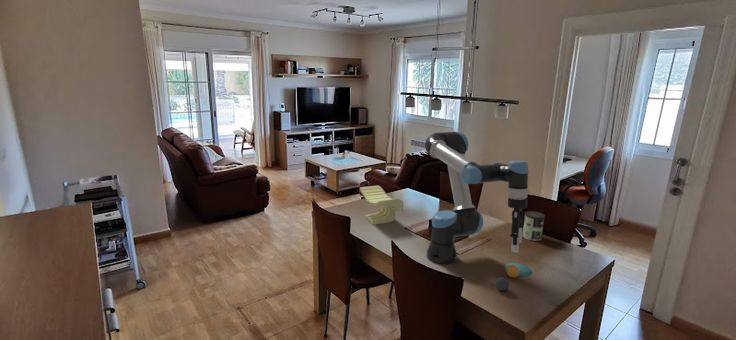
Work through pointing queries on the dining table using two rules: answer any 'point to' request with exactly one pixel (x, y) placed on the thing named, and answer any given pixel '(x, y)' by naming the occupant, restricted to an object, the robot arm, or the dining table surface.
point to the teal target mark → (520, 269)
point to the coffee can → (533, 225)
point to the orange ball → (512, 271)
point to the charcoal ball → (502, 283)
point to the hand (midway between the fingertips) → (516, 247)
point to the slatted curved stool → (381, 204)
